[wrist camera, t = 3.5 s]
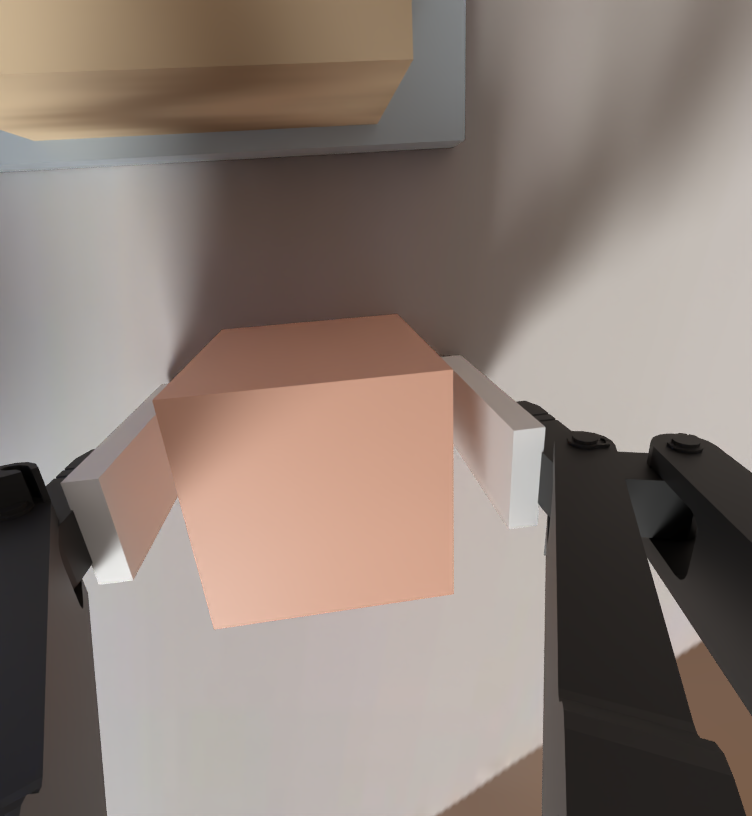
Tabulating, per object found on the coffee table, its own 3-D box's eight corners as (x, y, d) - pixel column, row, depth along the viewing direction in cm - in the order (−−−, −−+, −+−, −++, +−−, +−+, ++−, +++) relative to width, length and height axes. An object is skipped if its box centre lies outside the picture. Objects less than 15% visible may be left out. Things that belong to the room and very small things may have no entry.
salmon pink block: (252, 482, 17) (214, 629, 11) (222, 329, 15) (151, 399, 9) (404, 464, 18) (453, 593, 11) (396, 313, 16) (453, 369, 9)
